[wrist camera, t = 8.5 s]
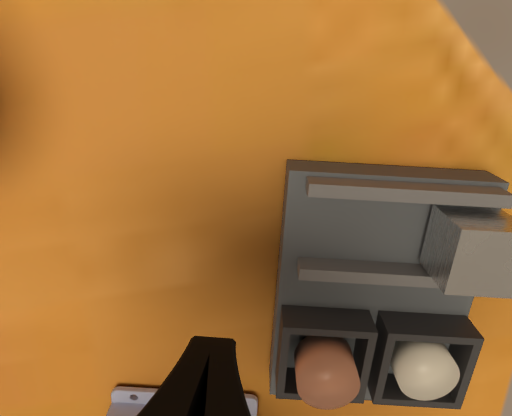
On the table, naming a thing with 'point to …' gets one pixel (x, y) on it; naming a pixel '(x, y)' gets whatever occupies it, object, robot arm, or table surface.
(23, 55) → the table surface
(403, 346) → the cream button
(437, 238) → the slider knob
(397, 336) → the control panel
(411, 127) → the table surface
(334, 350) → the terracotta button
